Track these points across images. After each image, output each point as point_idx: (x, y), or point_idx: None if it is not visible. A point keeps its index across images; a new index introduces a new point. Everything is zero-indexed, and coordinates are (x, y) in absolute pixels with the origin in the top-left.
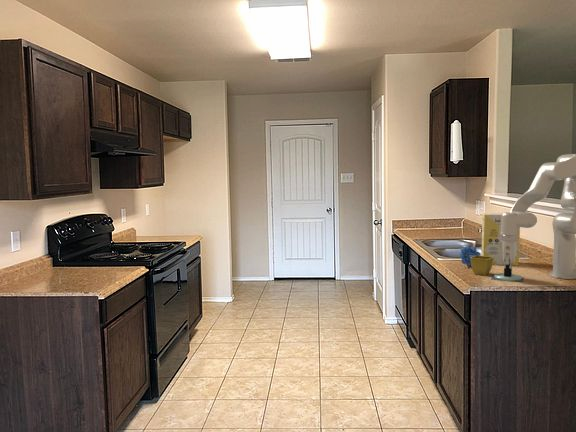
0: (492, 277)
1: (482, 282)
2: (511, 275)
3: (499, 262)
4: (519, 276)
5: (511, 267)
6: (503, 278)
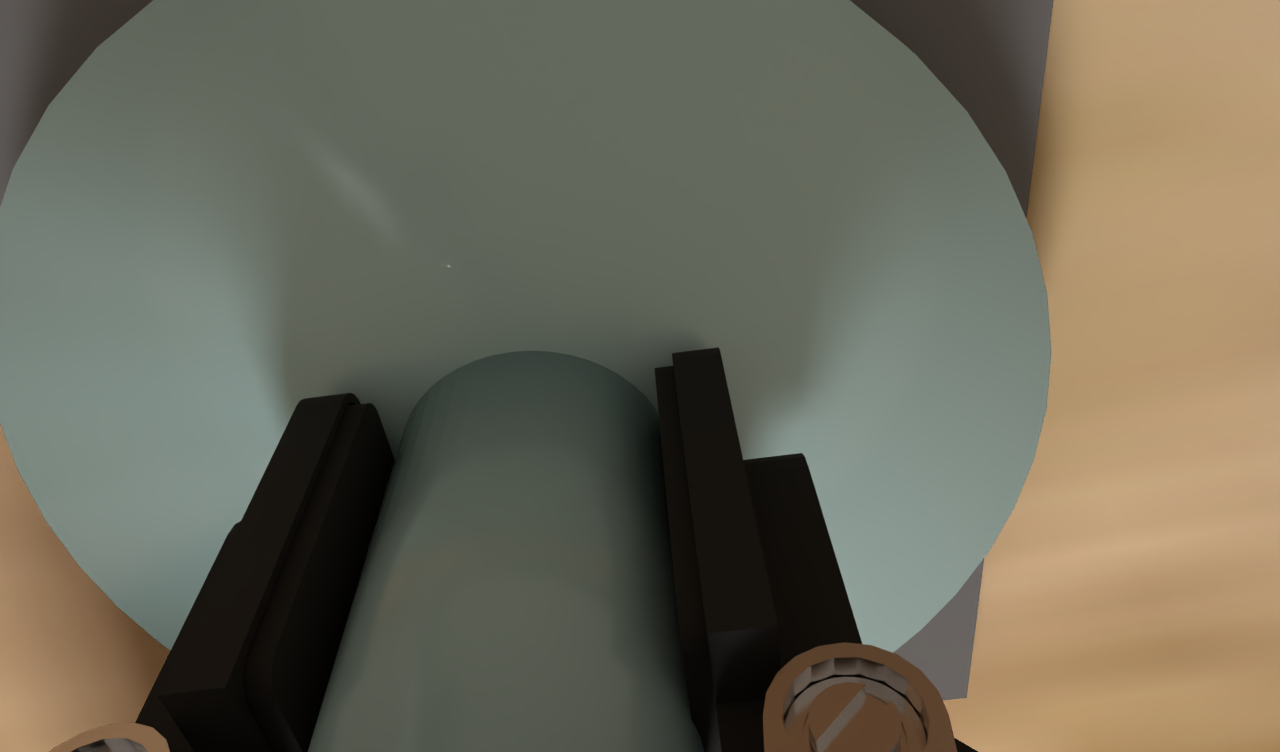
0: None
1: (1239, 741)
2: (340, 378)
3: None
4: (308, 36)
5: (526, 690)
6: (1009, 491)
